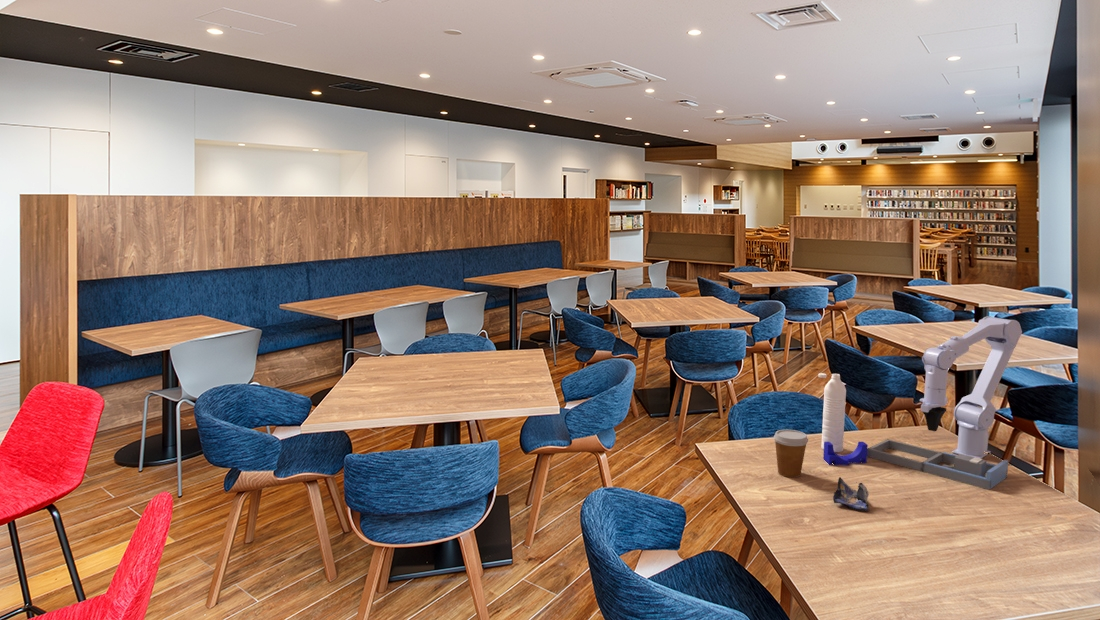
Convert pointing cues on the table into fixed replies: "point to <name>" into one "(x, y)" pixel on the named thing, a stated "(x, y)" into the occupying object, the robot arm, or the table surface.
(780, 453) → the disposable coffee cup
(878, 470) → the table surface
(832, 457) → the blue pipe cradle
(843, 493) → the snack package
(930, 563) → the table surface
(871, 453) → the grey divided rectangular frame
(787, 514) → the table surface
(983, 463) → the cord plug
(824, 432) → the water bottle
